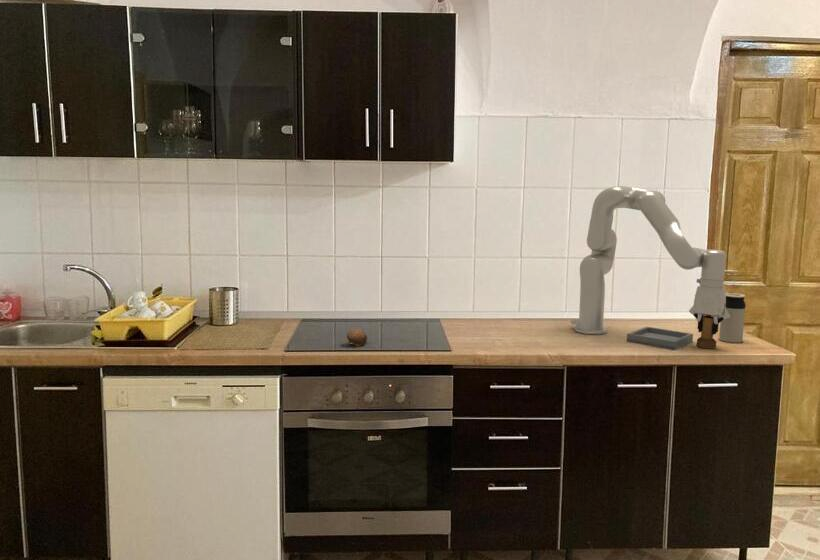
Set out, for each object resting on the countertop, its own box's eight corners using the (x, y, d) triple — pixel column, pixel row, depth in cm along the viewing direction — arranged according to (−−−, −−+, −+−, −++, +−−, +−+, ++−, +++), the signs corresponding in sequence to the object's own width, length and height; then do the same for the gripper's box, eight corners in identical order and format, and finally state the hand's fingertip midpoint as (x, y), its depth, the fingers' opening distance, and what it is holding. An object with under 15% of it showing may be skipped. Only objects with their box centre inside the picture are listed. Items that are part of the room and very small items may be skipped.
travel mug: (728, 343, 231) (732, 296, 228) (714, 338, 238) (718, 293, 236) (747, 342, 232) (751, 296, 230) (732, 337, 240) (736, 292, 237)
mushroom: (342, 334, 228) (349, 322, 225) (360, 340, 232) (368, 328, 229) (343, 348, 222) (351, 336, 219) (362, 354, 225) (370, 343, 222)
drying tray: (626, 341, 233) (627, 333, 232) (646, 333, 246) (646, 326, 245) (674, 350, 221) (675, 341, 220) (692, 341, 233) (693, 333, 233)
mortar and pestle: (713, 349, 221) (718, 300, 218) (694, 346, 225) (698, 298, 222) (717, 346, 226) (721, 298, 223) (698, 343, 230) (702, 296, 227)
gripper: (684, 282, 225) (680, 330, 228) (733, 287, 213) (728, 338, 216) (691, 280, 230) (687, 327, 233) (740, 285, 219) (735, 335, 222)
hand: (707, 332), depth 225 cm, fingers closed on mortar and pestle, 4 cm apart
